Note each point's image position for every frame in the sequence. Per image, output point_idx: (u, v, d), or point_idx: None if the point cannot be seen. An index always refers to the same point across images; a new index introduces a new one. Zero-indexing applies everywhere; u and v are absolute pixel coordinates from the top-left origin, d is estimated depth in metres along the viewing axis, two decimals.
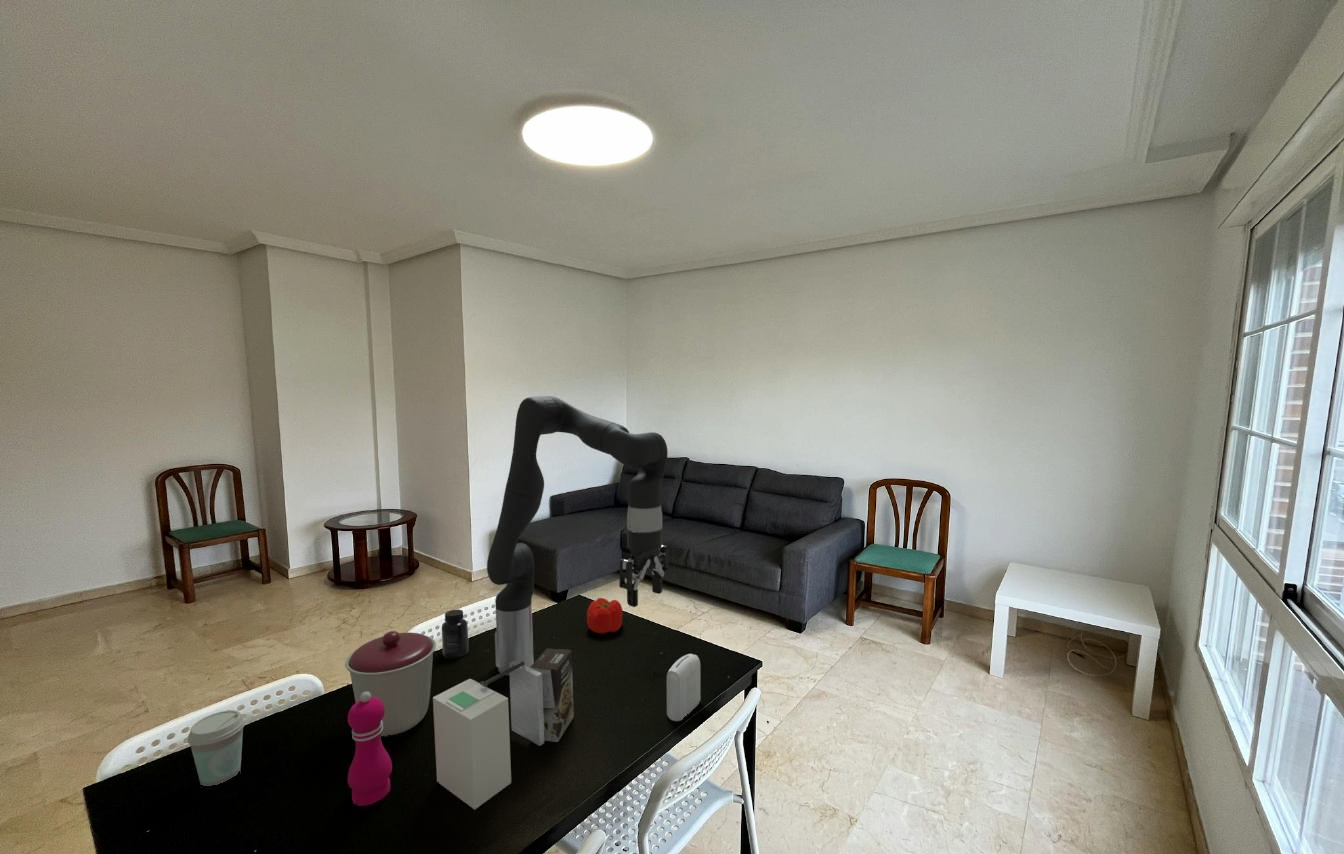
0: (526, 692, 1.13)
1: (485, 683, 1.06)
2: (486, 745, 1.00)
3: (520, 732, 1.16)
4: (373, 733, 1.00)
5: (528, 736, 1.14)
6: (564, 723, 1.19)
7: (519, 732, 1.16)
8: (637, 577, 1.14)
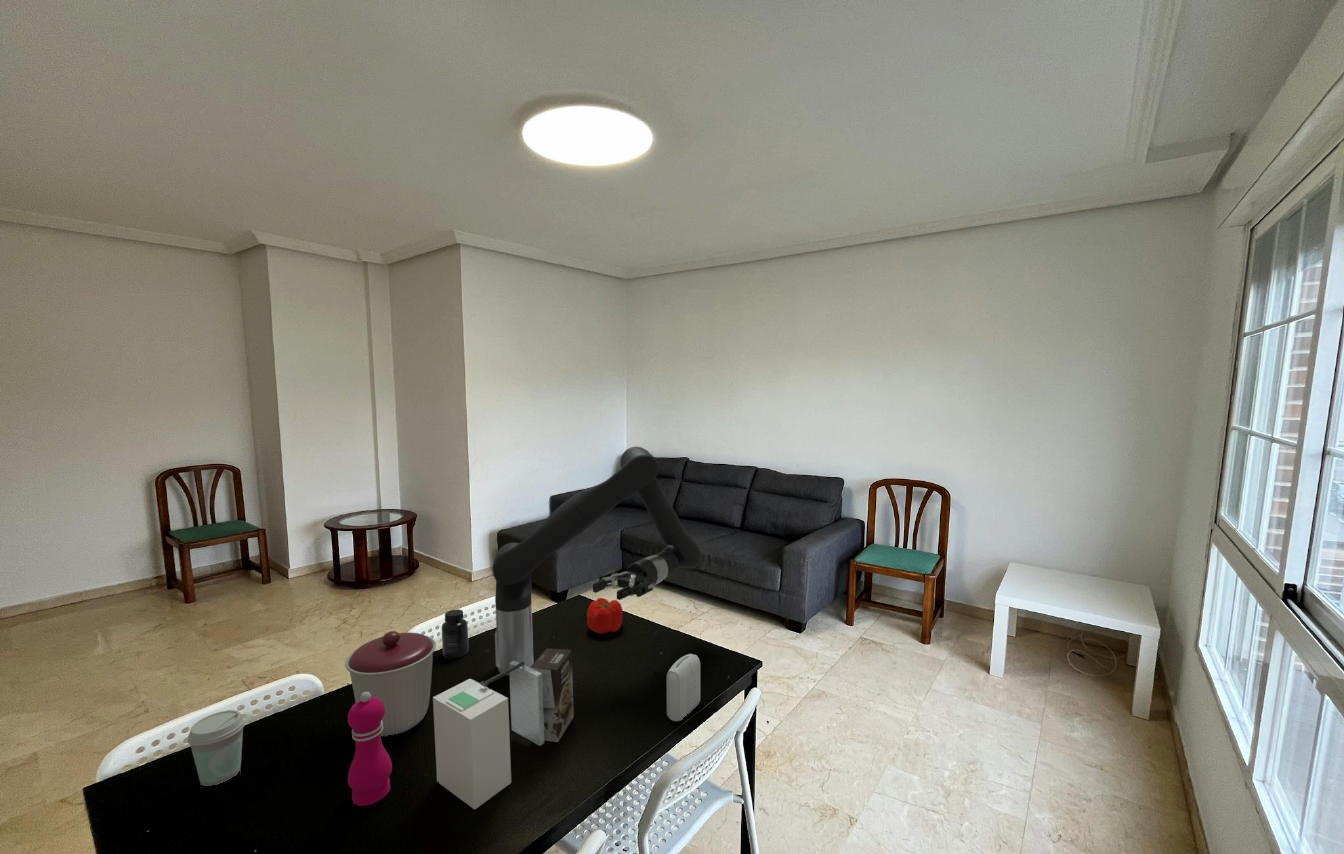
0: (526, 692, 1.13)
1: (485, 683, 1.06)
2: (486, 745, 1.00)
3: (520, 732, 1.16)
4: (373, 733, 1.00)
5: (528, 736, 1.14)
6: (564, 723, 1.19)
7: (519, 732, 1.16)
8: None
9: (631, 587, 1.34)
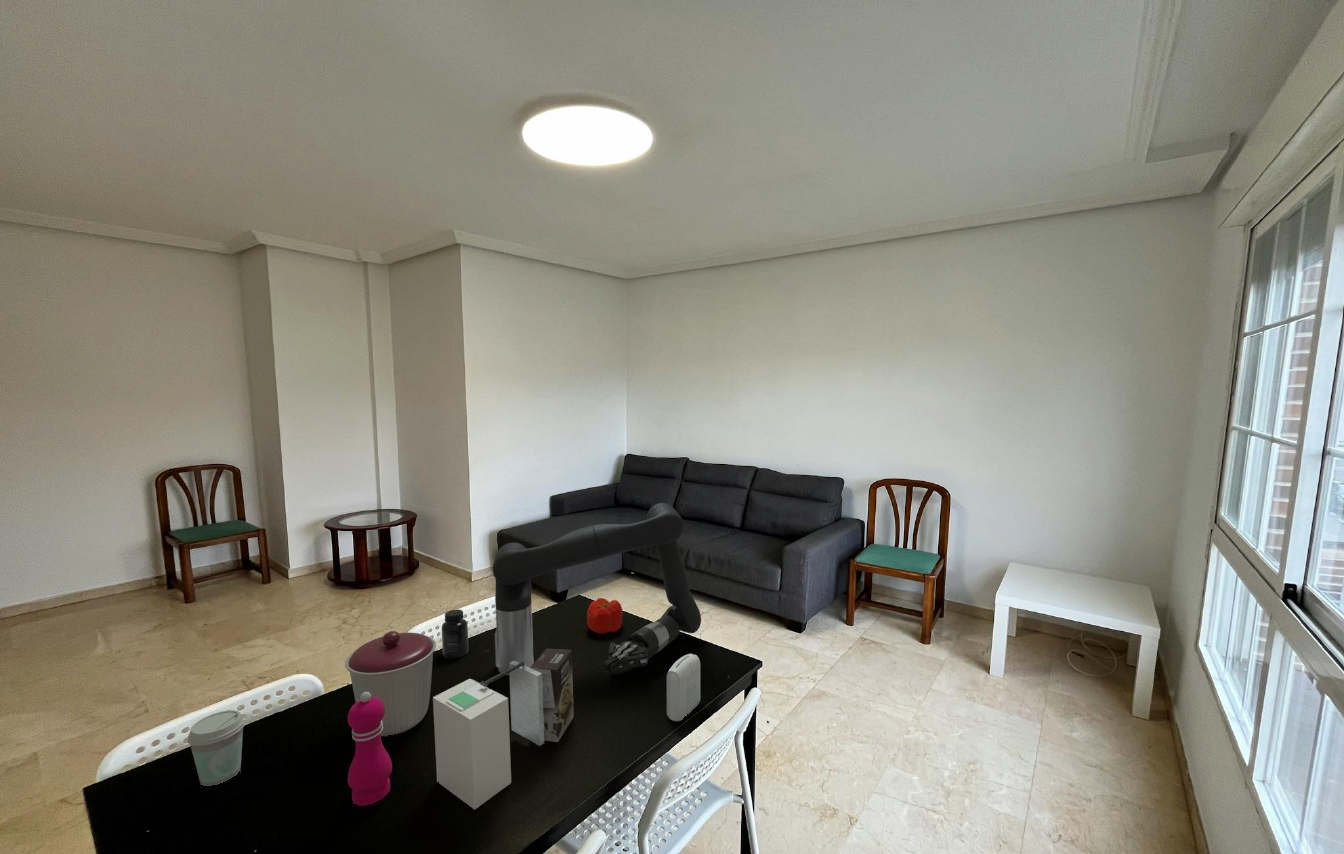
0: (526, 692, 1.13)
1: (485, 683, 1.06)
2: (486, 745, 1.00)
3: (520, 732, 1.16)
4: (373, 733, 1.00)
5: (528, 736, 1.14)
6: (564, 723, 1.19)
7: (519, 732, 1.16)
8: None
9: (620, 659, 1.37)
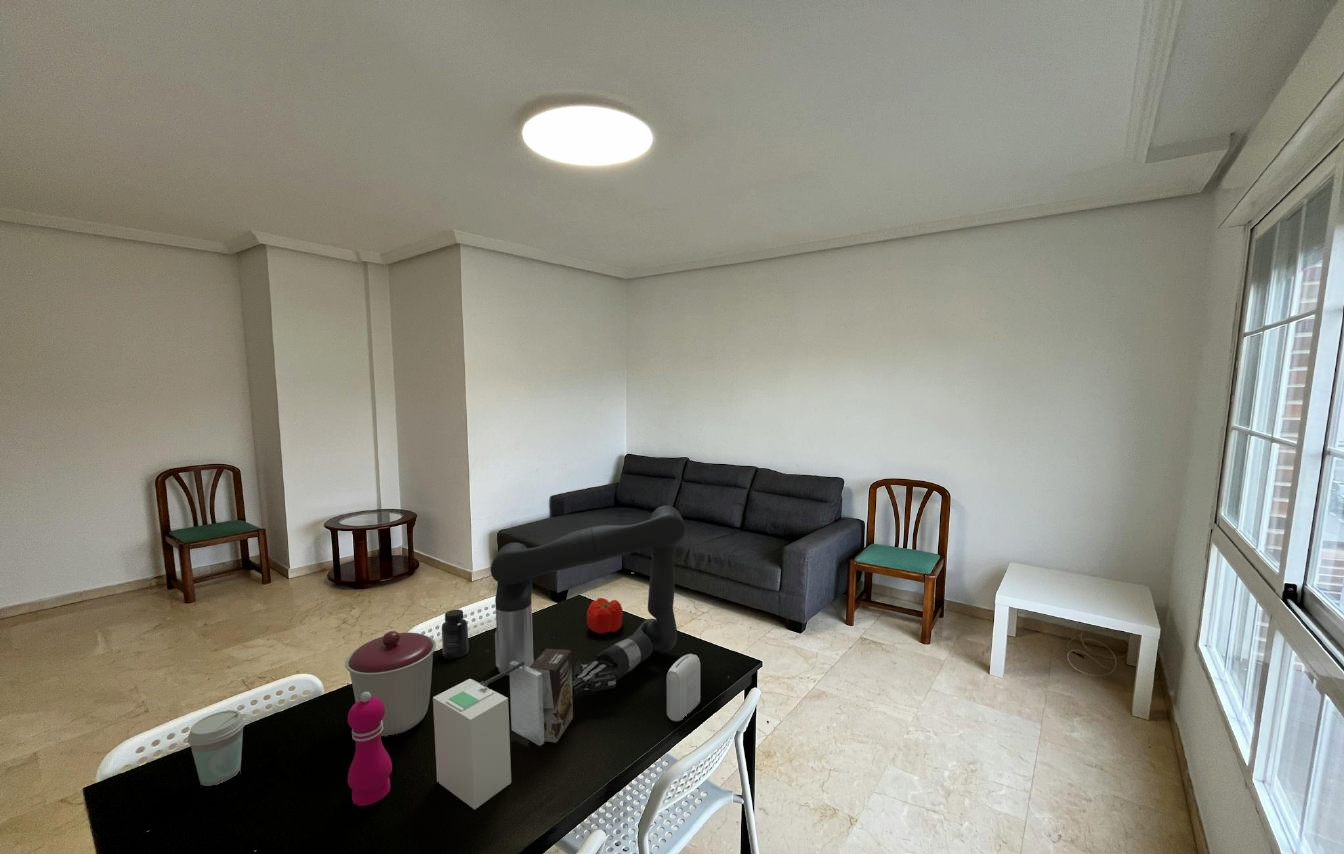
0: (526, 692, 1.13)
1: (485, 683, 1.06)
2: (486, 745, 1.00)
3: (520, 732, 1.16)
4: (373, 733, 1.00)
5: (528, 736, 1.14)
6: (563, 723, 1.19)
7: (519, 732, 1.16)
8: None
9: (585, 681, 1.27)
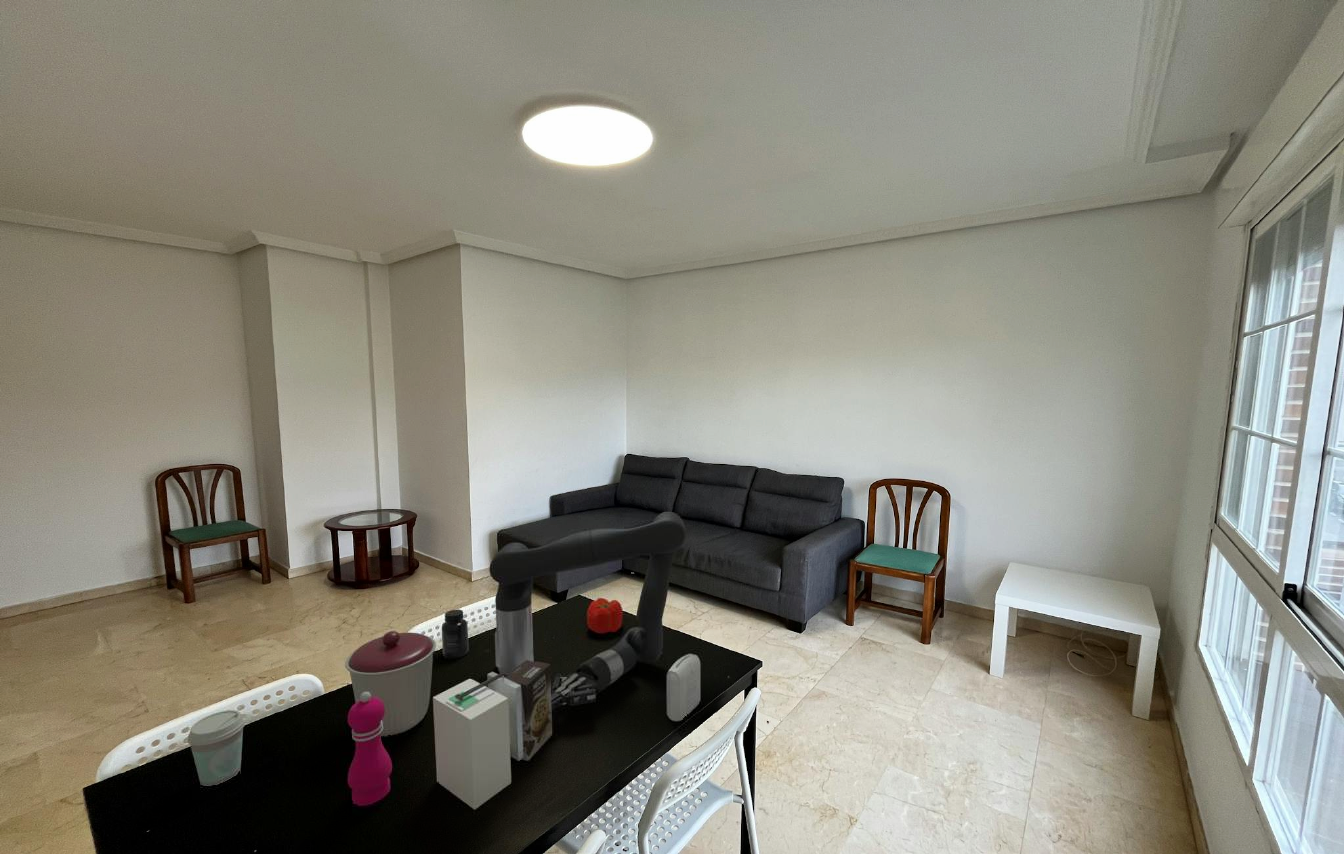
0: None
1: (460, 696, 1.01)
2: (486, 745, 1.00)
3: None
4: (373, 733, 1.00)
5: None
6: (537, 741, 1.13)
7: None
8: None
9: (563, 695, 1.22)
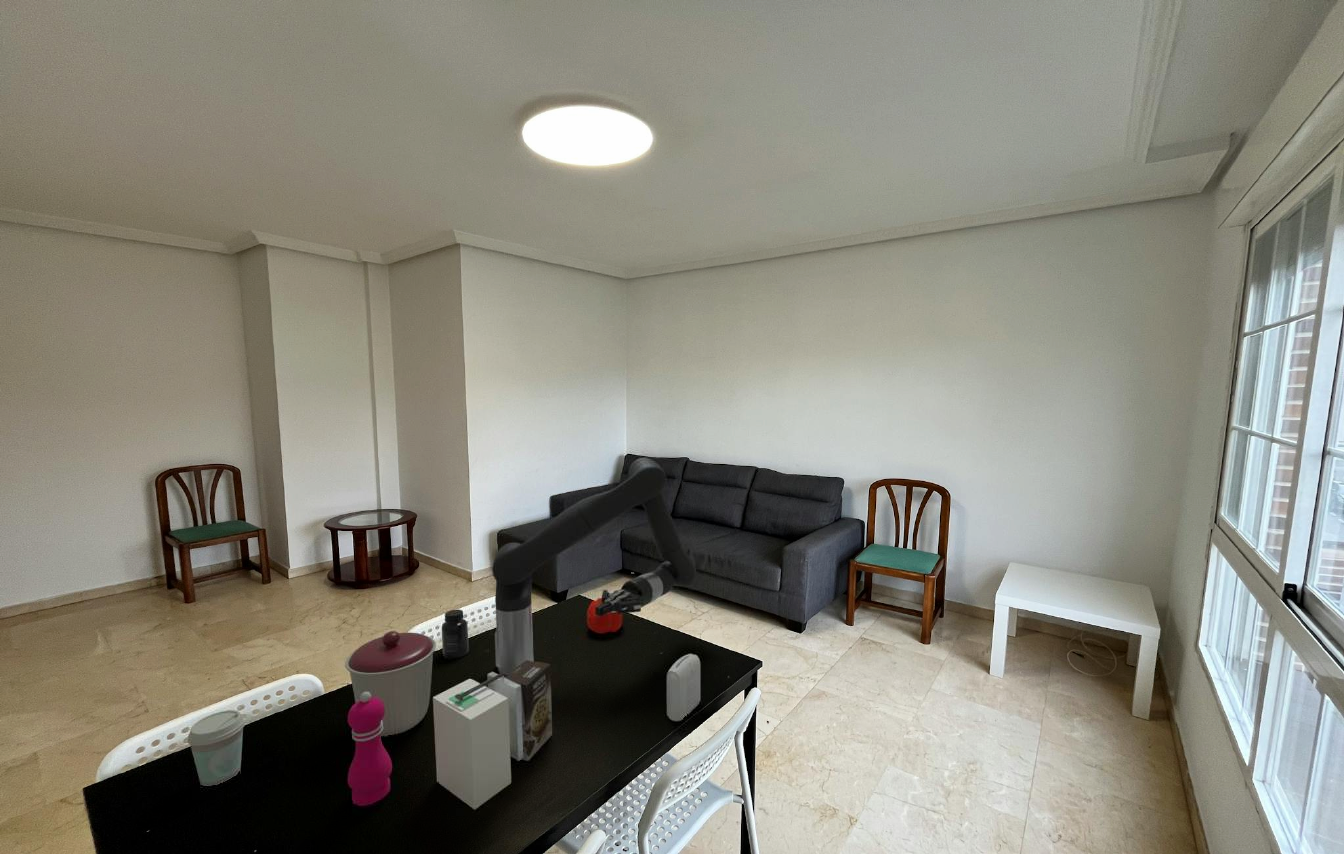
0: None
1: (460, 696, 1.01)
2: (486, 745, 1.00)
3: None
4: (373, 733, 1.00)
5: None
6: (537, 741, 1.13)
7: None
8: None
9: (612, 604, 1.34)
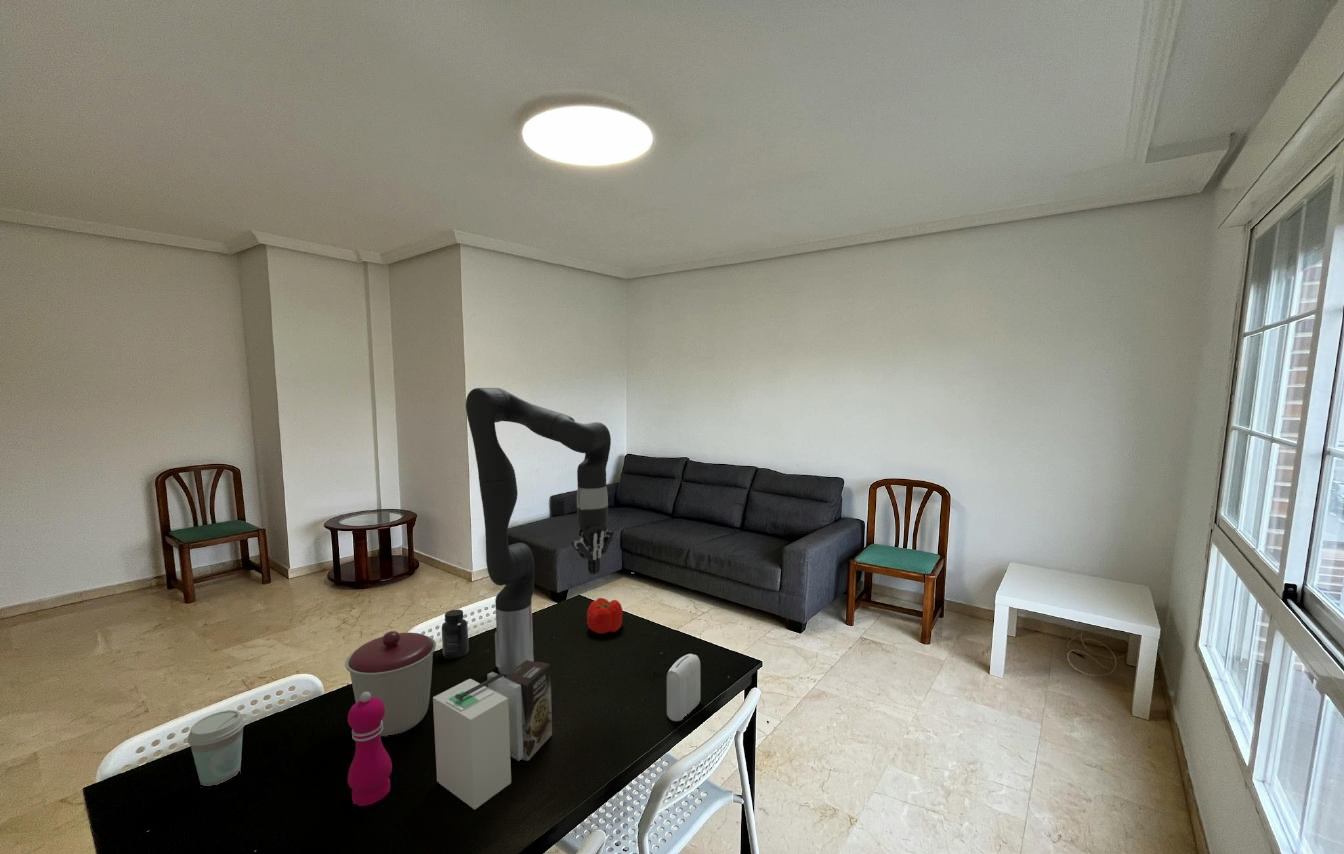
0: None
1: (460, 696, 1.01)
2: (486, 745, 1.00)
3: None
4: (373, 733, 1.00)
5: None
6: (537, 741, 1.13)
7: None
8: (592, 550, 1.33)
9: None
